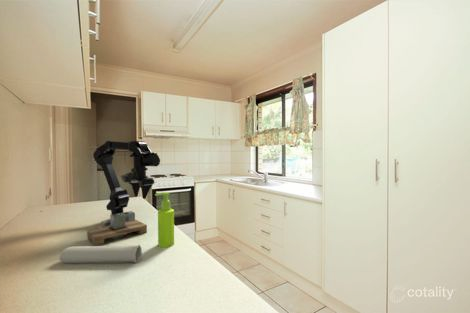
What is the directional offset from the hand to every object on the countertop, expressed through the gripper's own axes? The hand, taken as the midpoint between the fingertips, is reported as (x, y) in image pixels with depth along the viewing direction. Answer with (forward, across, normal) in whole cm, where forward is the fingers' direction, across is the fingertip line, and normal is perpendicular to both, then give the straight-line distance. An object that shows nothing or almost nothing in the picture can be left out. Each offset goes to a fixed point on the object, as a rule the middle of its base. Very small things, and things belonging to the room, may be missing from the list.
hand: (140, 197), depth 114 cm
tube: (+14, +30, -26) cm, 42 cm away
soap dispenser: (+13, +33, -5) cm, 36 cm away
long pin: (+13, +10, -14) cm, 22 cm away
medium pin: (+13, -2, -5) cm, 14 cm away
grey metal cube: (+13, -2, -14) cm, 19 cm away
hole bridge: (+13, +10, -14) cm, 22 cm away
